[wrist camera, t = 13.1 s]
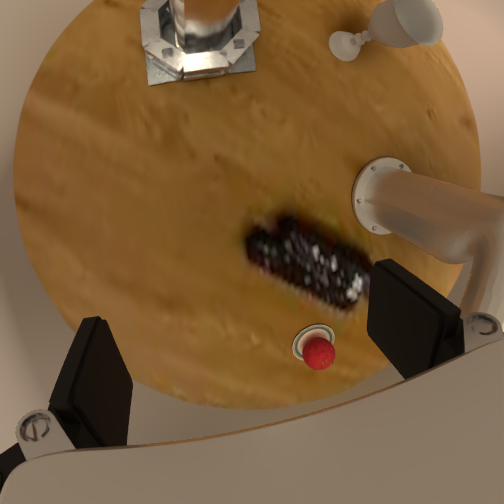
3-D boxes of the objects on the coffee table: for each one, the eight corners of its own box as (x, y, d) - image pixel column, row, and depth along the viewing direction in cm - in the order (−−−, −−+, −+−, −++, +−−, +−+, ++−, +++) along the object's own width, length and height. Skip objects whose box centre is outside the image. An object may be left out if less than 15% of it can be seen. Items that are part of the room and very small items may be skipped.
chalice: (325, 19, 36) (394, -25, 20) (365, 33, 38) (442, 3, 21) (320, 60, 39) (392, 30, 22) (361, 73, 40) (442, 56, 24)
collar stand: (243, -6, 33) (255, -30, 26) (255, 75, 38) (269, 63, 31) (142, 6, 31) (134, -17, 24) (149, 90, 36) (141, 80, 29)
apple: (340, 340, 57) (355, 361, 51) (305, 365, 57) (317, 388, 51) (320, 315, 54) (335, 336, 48) (283, 342, 54) (294, 366, 48)
